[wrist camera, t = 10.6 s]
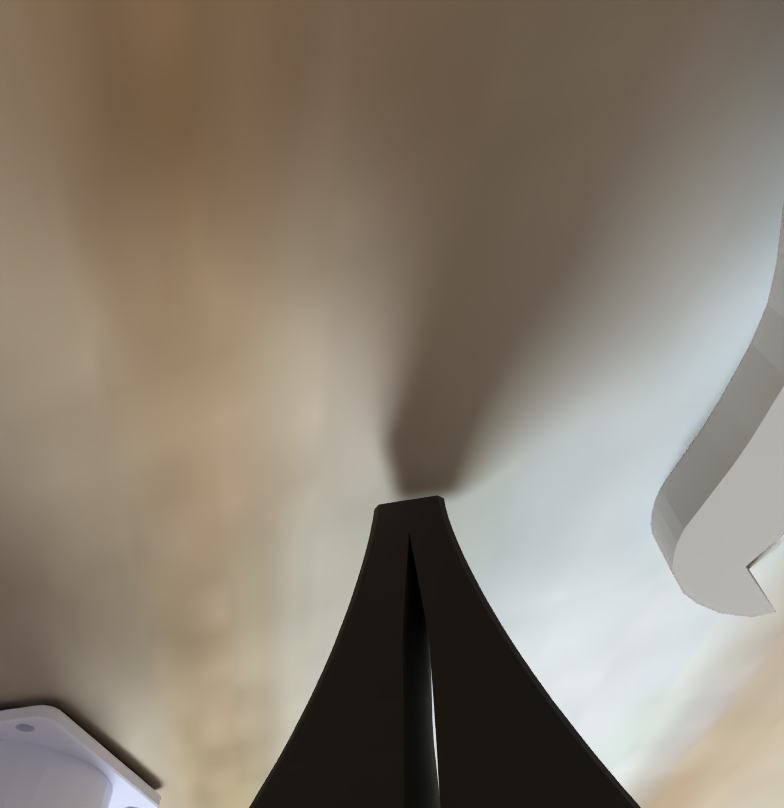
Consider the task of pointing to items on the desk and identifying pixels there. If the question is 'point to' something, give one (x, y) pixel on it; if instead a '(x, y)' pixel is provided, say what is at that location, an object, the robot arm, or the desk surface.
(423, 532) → the robot arm
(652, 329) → the desk surface
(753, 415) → the adjustable wrench
